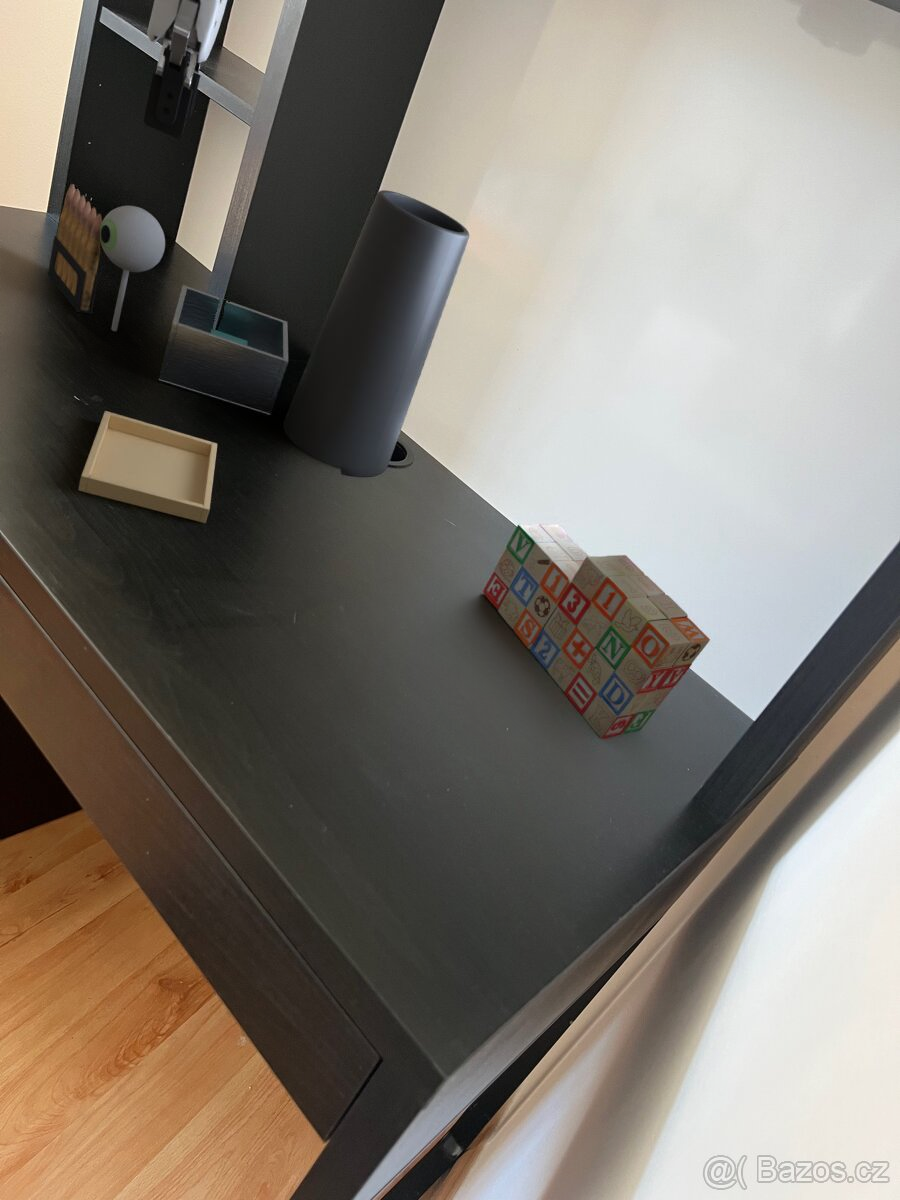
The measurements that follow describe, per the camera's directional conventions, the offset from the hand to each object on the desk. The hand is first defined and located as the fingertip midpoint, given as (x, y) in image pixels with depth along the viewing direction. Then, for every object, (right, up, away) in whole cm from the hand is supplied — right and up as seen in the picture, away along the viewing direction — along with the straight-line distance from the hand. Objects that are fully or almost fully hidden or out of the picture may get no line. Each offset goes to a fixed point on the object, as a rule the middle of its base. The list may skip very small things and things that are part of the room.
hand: (168, 121), depth 77 cm
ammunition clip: (-23, -5, +31) cm, 39 cm away
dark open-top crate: (-3, -16, +28) cm, 33 cm away
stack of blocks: (+36, -50, +10) cm, 62 cm away
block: (-3, -16, +28) cm, 32 cm away
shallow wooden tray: (-4, -31, +6) cm, 32 cm away
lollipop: (-16, -10, +28) cm, 34 cm away
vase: (+11, -25, +28) cm, 39 cm away
